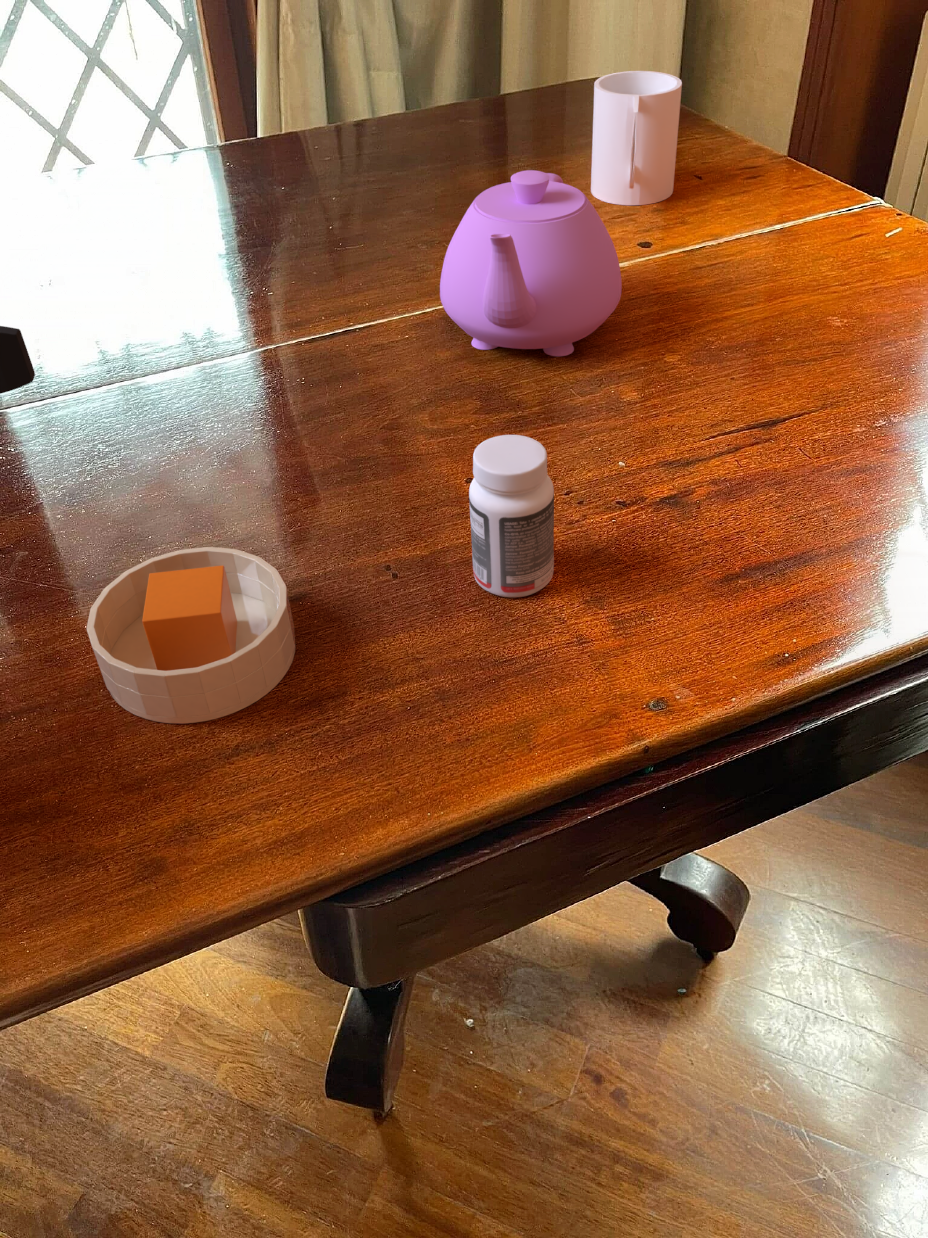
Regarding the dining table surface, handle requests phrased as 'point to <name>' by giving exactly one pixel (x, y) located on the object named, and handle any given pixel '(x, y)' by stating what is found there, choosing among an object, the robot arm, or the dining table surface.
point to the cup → (635, 137)
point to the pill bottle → (511, 516)
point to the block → (189, 617)
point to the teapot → (530, 267)
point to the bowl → (203, 688)
